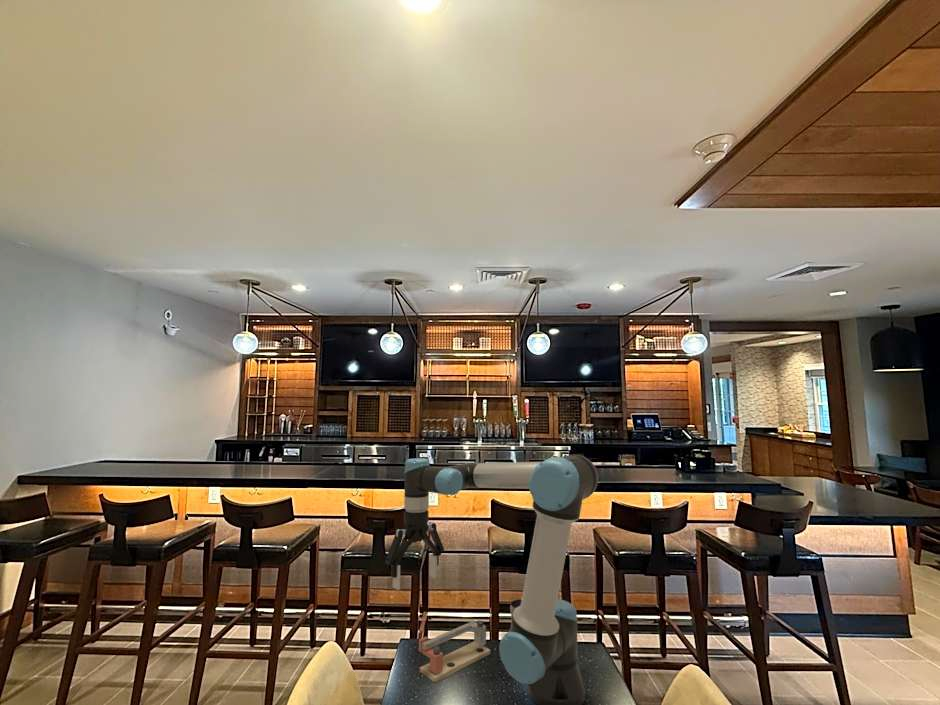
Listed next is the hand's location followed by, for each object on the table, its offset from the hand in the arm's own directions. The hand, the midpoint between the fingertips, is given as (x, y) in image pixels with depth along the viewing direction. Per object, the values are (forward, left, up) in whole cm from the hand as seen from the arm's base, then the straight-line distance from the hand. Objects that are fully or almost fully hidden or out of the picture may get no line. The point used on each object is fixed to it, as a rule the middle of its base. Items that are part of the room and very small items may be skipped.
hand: (415, 582), depth 137 cm
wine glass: (-19, -28, -23) cm, 41 cm away
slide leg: (-7, -1, -22) cm, 23 cm away
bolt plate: (-8, -10, -23) cm, 26 cm away
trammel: (-8, -10, -22) cm, 25 cm away
